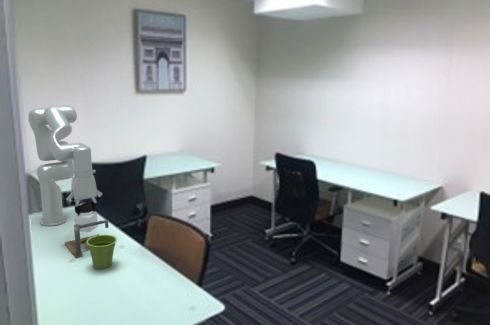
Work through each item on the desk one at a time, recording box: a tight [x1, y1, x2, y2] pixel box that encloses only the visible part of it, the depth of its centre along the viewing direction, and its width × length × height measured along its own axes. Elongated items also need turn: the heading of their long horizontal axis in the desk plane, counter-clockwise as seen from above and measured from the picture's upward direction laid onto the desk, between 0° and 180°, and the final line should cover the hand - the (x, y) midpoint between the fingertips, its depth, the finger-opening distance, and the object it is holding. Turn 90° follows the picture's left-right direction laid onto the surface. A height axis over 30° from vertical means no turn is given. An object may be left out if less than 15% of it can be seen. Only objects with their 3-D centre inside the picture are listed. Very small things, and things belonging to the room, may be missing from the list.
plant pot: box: [87, 234, 118, 270], centre depth 167 cm, size 12×12×11 cm
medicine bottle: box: [74, 202, 99, 233], centre depth 181 cm, size 7×7×12 cm
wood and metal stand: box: [63, 219, 109, 259], centre depth 183 cm, size 16×16×14 cm
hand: (85, 212), depth 181 cm, fingers closed on medicine bottle, 6 cm apart
